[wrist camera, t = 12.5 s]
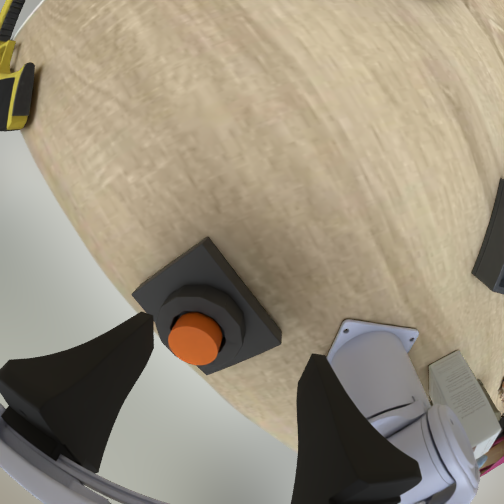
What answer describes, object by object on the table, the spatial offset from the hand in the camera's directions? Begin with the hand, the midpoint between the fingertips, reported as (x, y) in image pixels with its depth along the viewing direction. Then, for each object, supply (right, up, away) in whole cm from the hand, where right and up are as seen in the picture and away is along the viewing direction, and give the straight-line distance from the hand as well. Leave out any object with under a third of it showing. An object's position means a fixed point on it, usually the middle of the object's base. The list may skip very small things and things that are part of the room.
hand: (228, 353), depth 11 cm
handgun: (-19, +27, 0) cm, 33 cm away
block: (-3, 0, +11) cm, 11 cm away
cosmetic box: (+23, -9, +12) cm, 27 cm away
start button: (-3, -1, +8) cm, 8 cm away
